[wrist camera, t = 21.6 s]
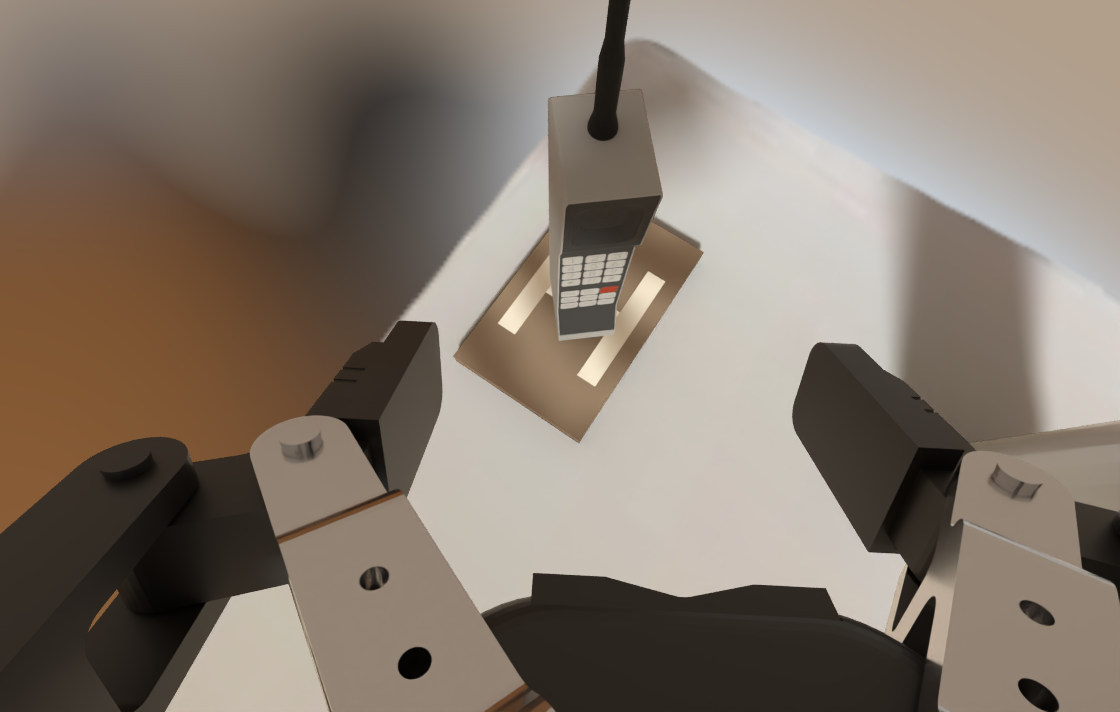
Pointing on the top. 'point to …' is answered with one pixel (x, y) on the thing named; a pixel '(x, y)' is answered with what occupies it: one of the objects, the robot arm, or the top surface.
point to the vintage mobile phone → (598, 190)
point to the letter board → (579, 364)
